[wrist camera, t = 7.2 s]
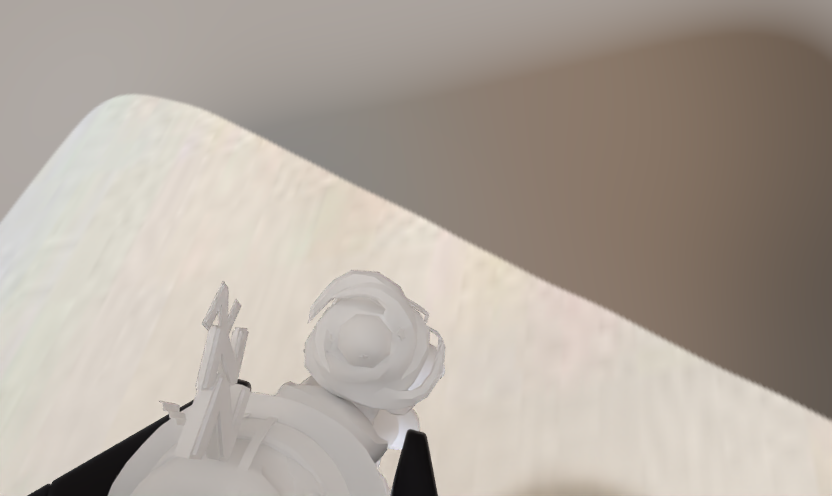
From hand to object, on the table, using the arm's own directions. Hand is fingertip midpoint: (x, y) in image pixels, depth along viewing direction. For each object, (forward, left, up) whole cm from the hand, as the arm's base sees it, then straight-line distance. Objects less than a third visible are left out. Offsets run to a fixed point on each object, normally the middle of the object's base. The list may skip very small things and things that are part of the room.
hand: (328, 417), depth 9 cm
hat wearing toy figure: (0, -2, -7) cm, 7 cm away
